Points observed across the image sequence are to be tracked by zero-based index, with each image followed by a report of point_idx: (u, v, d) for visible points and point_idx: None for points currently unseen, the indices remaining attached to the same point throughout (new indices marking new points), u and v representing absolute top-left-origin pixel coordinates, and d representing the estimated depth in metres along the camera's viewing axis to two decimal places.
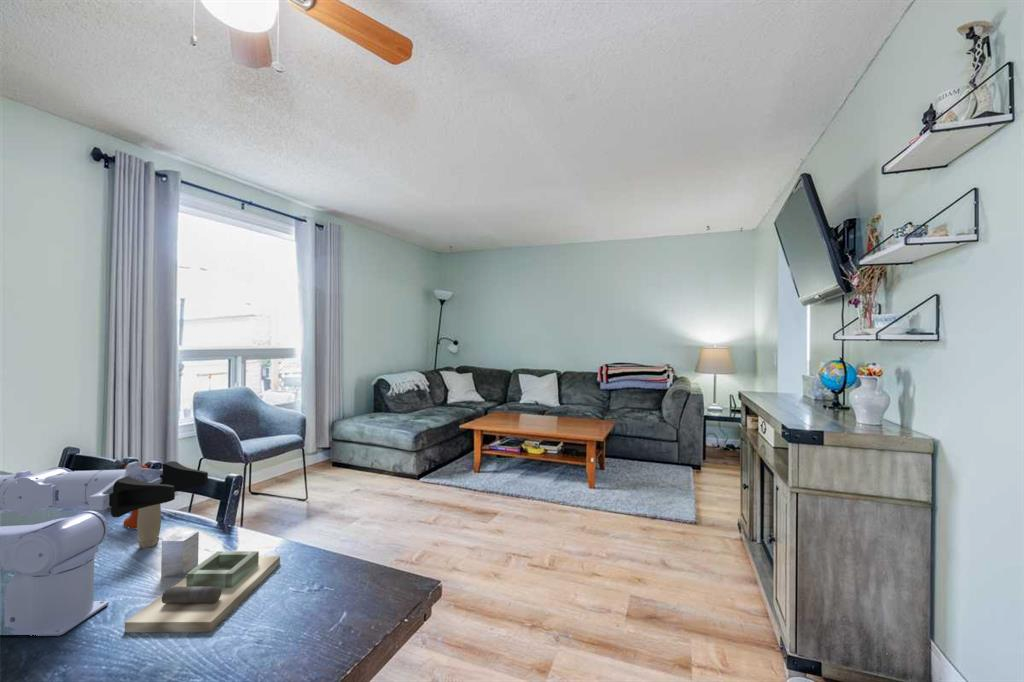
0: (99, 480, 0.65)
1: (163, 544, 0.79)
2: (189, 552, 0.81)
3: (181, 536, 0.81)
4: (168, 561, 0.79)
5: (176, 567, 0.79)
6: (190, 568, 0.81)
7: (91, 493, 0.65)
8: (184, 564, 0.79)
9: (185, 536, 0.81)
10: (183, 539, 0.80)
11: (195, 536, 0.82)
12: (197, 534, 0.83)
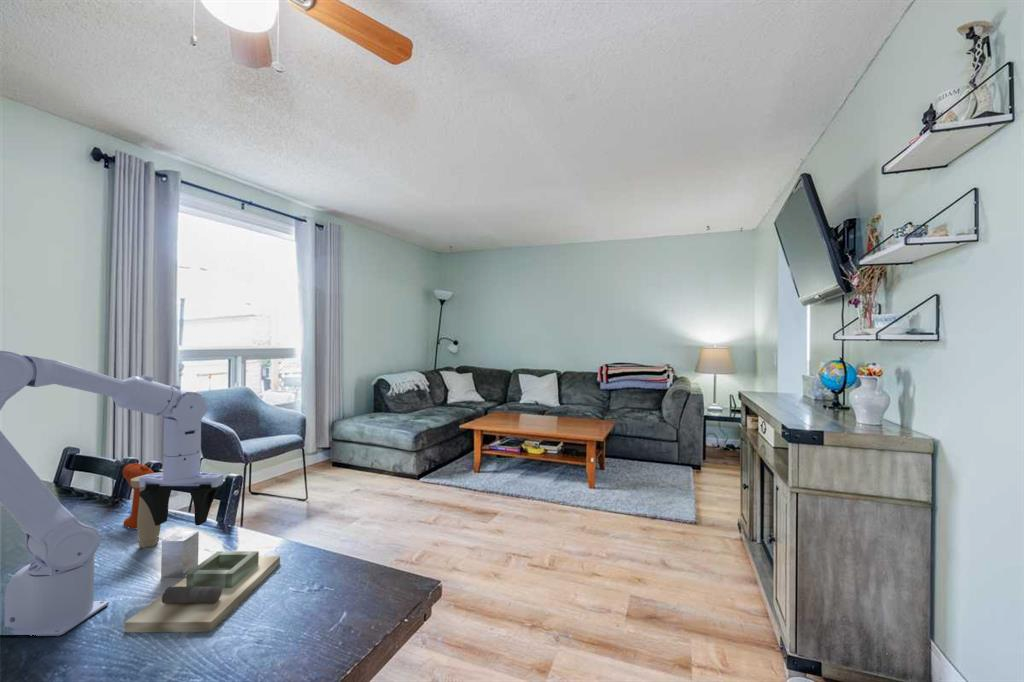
0: None
1: (163, 544, 0.79)
2: (189, 552, 0.81)
3: (181, 536, 0.81)
4: (168, 561, 0.79)
5: (176, 567, 0.79)
6: (190, 568, 0.81)
7: (197, 457, 0.81)
8: (184, 564, 0.79)
9: (185, 536, 0.81)
10: (183, 539, 0.80)
11: (195, 536, 0.82)
12: (197, 534, 0.83)
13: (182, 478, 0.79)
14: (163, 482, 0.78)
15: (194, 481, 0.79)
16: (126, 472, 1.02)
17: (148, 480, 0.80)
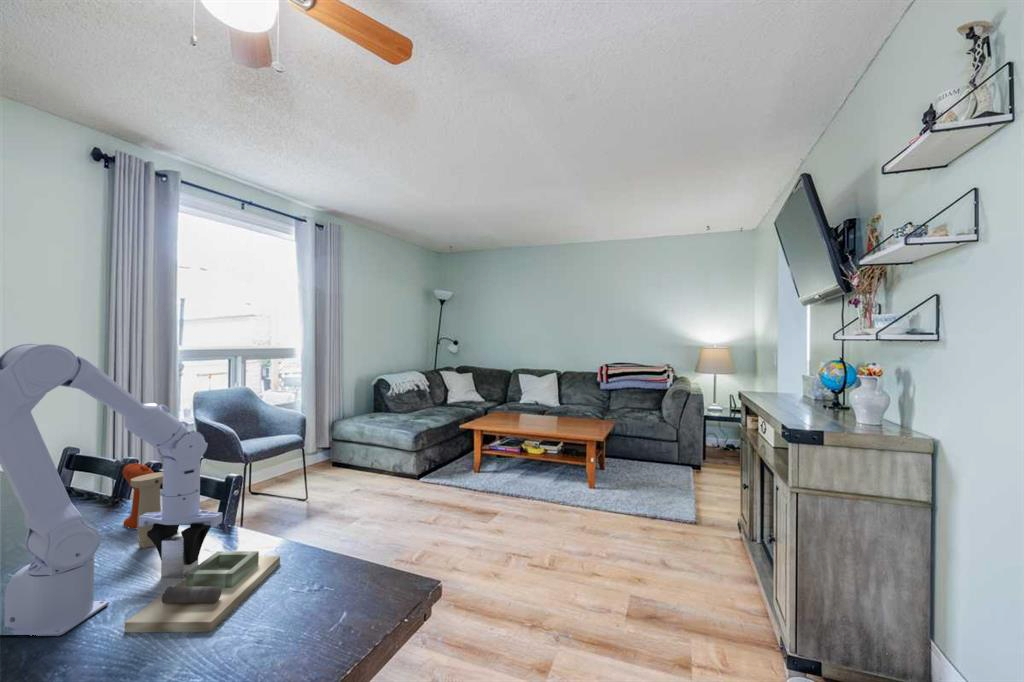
0: (199, 495, 0.83)
1: (163, 544, 0.79)
2: None
3: (181, 536, 0.81)
4: (168, 561, 0.79)
5: (176, 566, 0.79)
6: (190, 568, 0.81)
7: (196, 496, 0.81)
8: (185, 563, 0.79)
9: None
10: (183, 539, 0.80)
11: None
12: None
13: (181, 518, 0.79)
14: (162, 522, 0.78)
15: (193, 521, 0.79)
16: (126, 472, 1.02)
17: (147, 519, 0.80)
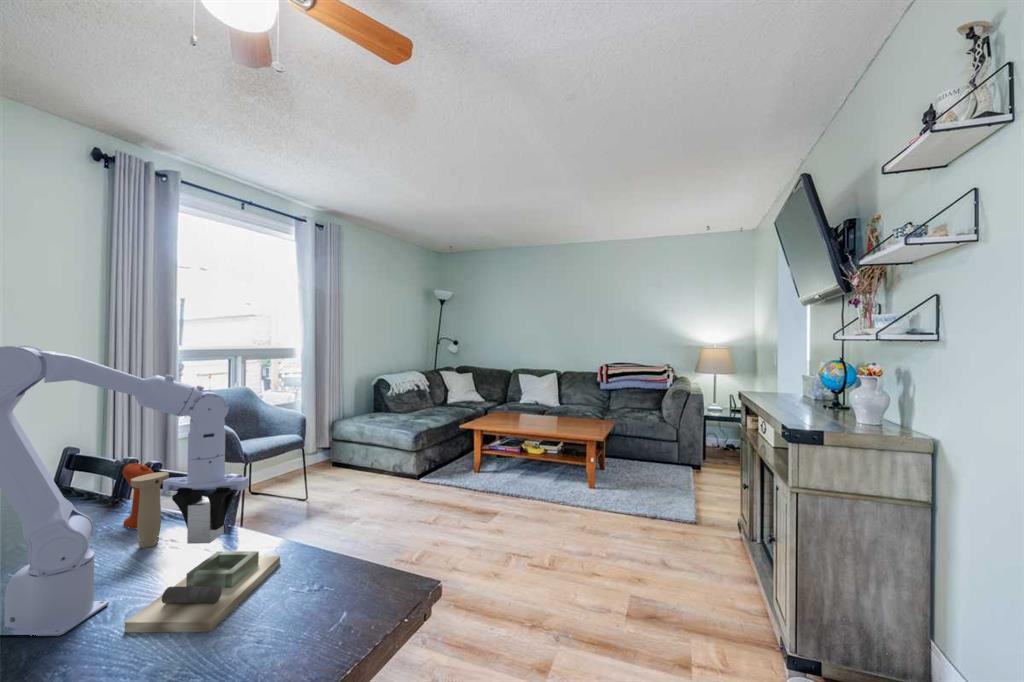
0: None
1: (189, 509, 0.77)
2: None
3: (207, 501, 0.79)
4: (194, 526, 0.77)
5: (203, 532, 0.77)
6: (216, 534, 0.79)
7: (222, 460, 0.79)
8: (211, 529, 0.78)
9: None
10: None
11: None
12: None
13: (207, 481, 0.77)
14: (188, 486, 0.76)
15: (220, 484, 0.77)
16: (126, 472, 1.02)
17: (172, 484, 0.78)
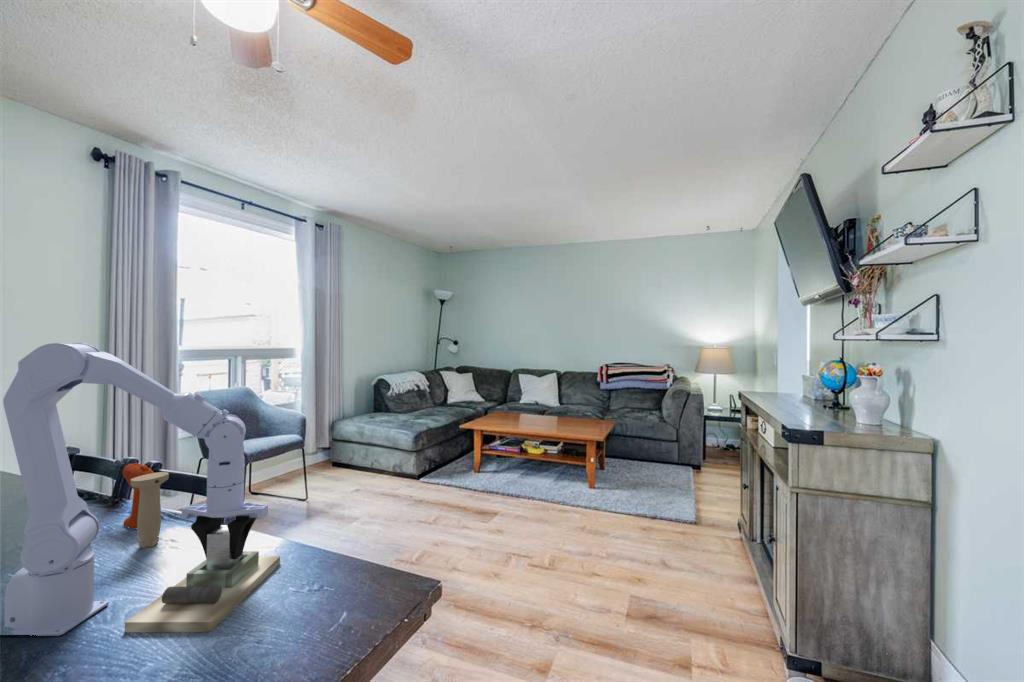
0: None
1: (208, 538, 0.75)
2: None
3: (226, 530, 0.77)
4: (213, 556, 0.75)
5: (222, 561, 0.75)
6: (235, 563, 0.77)
7: (241, 487, 0.78)
8: (231, 558, 0.76)
9: None
10: None
11: None
12: None
13: (227, 510, 0.75)
14: (207, 515, 0.74)
15: (239, 513, 0.76)
16: (126, 472, 1.02)
17: (191, 512, 0.76)
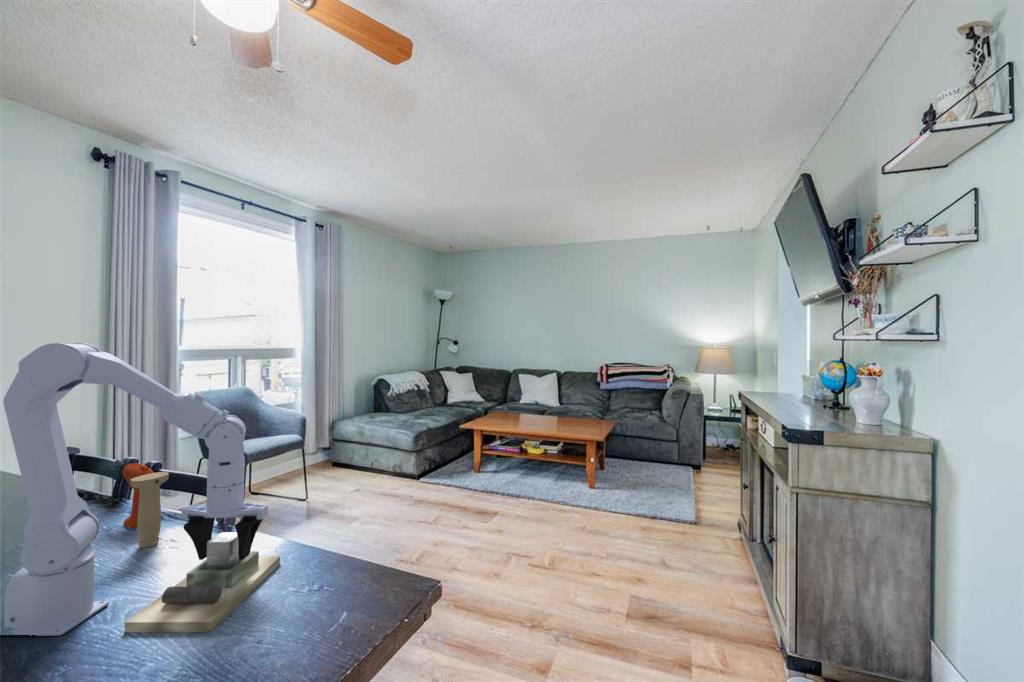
0: None
1: (208, 545, 0.75)
2: (235, 554, 0.77)
3: (226, 537, 0.77)
4: (213, 563, 0.75)
5: (222, 569, 0.75)
6: None
7: (241, 487, 0.78)
8: (231, 566, 0.76)
9: (230, 537, 0.77)
10: (229, 540, 0.76)
11: None
12: None
13: (227, 510, 0.75)
14: (207, 515, 0.74)
15: (239, 513, 0.76)
16: (126, 472, 1.02)
17: (191, 512, 0.76)
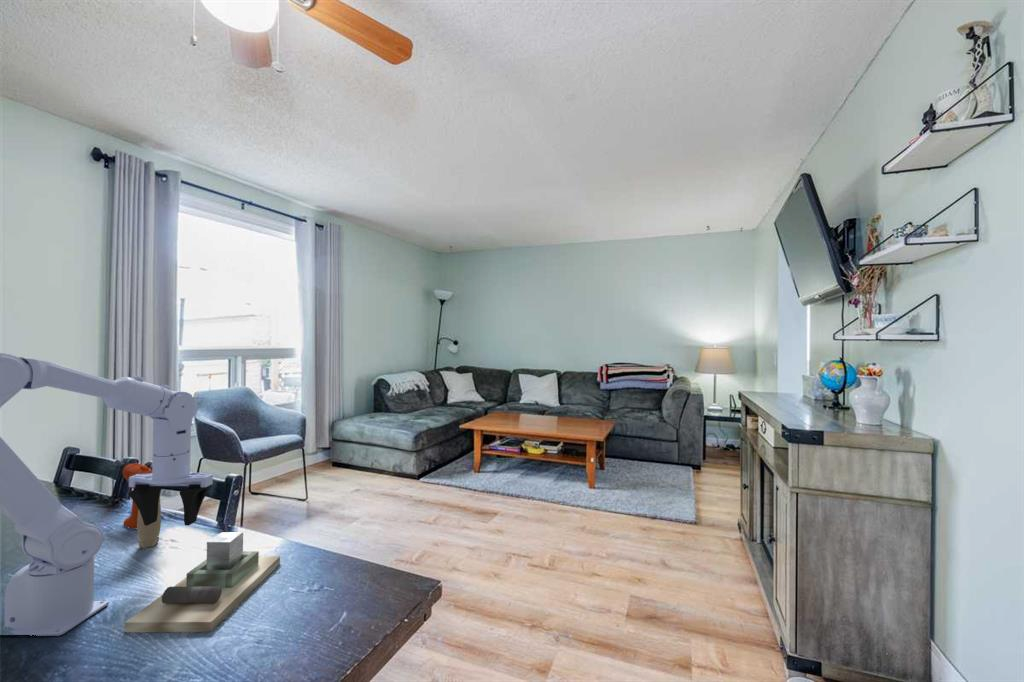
0: None
1: (208, 545, 0.75)
2: (235, 554, 0.77)
3: (226, 537, 0.77)
4: (213, 563, 0.75)
5: (222, 569, 0.75)
6: None
7: (187, 457, 0.81)
8: (231, 566, 0.76)
9: (230, 537, 0.77)
10: (229, 540, 0.76)
11: (240, 537, 0.79)
12: (242, 535, 0.79)
13: (171, 478, 0.79)
14: (152, 482, 0.78)
15: (183, 481, 0.79)
16: (126, 472, 1.02)
17: (137, 480, 0.80)
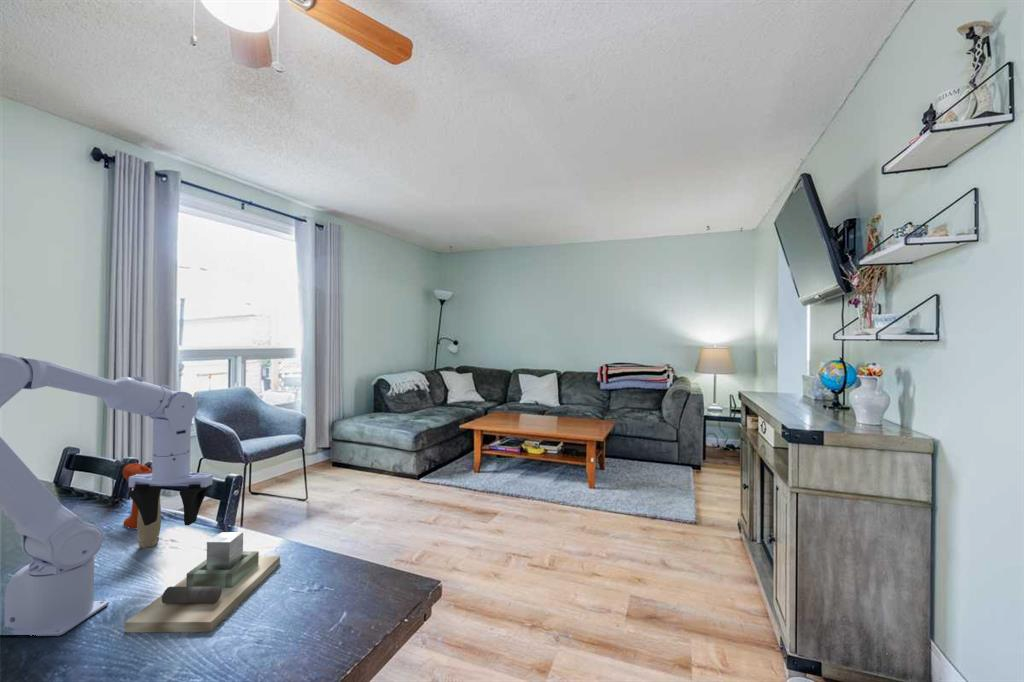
0: None
1: (208, 545, 0.75)
2: (235, 554, 0.77)
3: (226, 537, 0.77)
4: (213, 563, 0.75)
5: (222, 569, 0.75)
6: None
7: (187, 457, 0.81)
8: (231, 566, 0.76)
9: (230, 537, 0.77)
10: (229, 540, 0.76)
11: (240, 537, 0.79)
12: (242, 535, 0.79)
13: (171, 478, 0.79)
14: (152, 482, 0.78)
15: (183, 481, 0.79)
16: (126, 472, 1.02)
17: (137, 480, 0.80)
